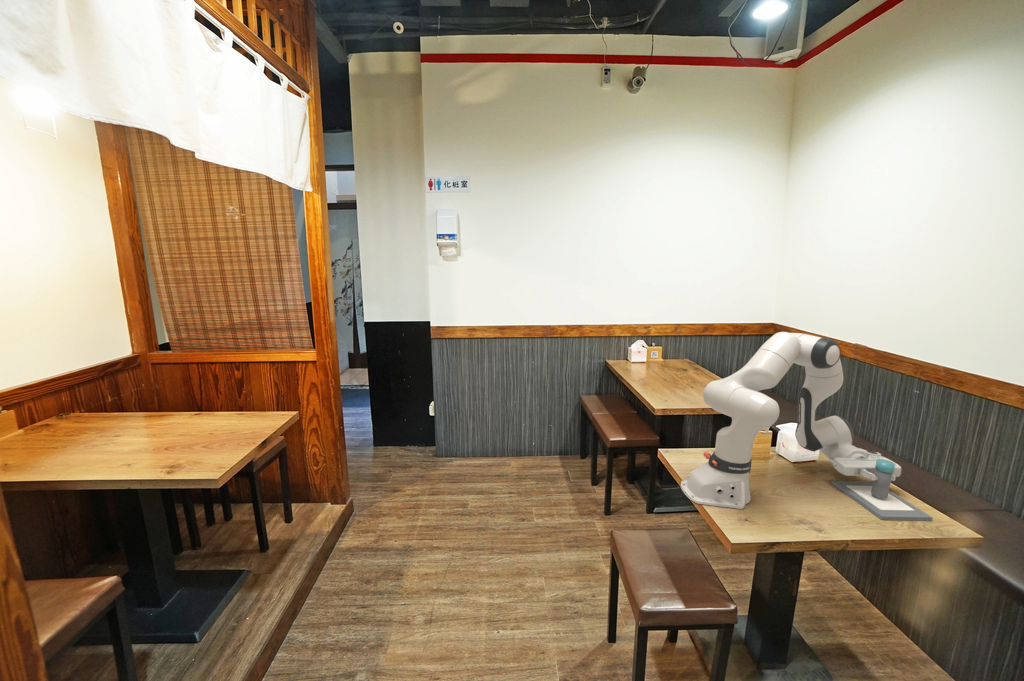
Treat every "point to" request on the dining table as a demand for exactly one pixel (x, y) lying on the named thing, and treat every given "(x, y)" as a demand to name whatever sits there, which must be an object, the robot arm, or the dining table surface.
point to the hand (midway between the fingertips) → (885, 478)
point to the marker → (882, 478)
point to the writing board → (881, 502)
